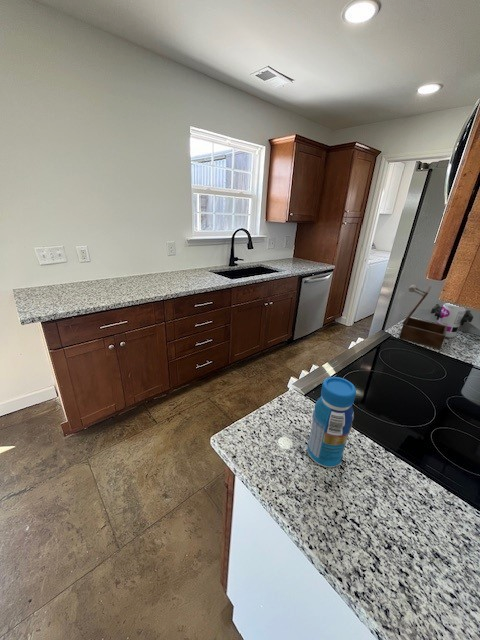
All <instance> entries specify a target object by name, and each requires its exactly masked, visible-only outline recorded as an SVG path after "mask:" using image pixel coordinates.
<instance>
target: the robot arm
mask: <svg viewBox="0 0 480 640" xmlns="http://www.w3.org/2000/svg"><path fill="white" fill-rule="evenodd" d="M444 304H445V303H444V302H443V305H444ZM443 305H440V304H439V303H436V304H435V306H433V307H432V308H431V310H430V314H431V315H432V314H434V315H433V316H434V317H436V321H438V320H439V317H440V314H441V310H442V307H443ZM473 319H474V315H473V314H472V313H471V310H468V309H467V310H466V311H465V313H464V316H463V318H462V321H461V324H460V326H464V324H465V323H472V321H473Z"/></svg>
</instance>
